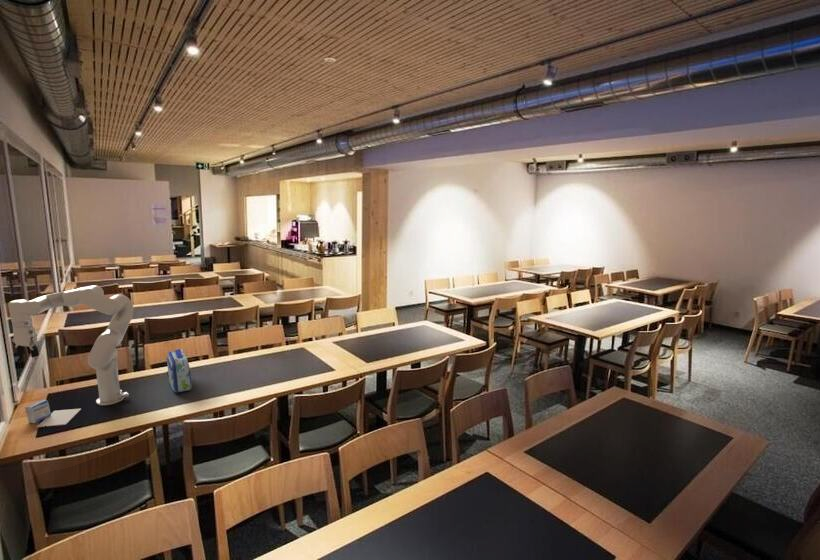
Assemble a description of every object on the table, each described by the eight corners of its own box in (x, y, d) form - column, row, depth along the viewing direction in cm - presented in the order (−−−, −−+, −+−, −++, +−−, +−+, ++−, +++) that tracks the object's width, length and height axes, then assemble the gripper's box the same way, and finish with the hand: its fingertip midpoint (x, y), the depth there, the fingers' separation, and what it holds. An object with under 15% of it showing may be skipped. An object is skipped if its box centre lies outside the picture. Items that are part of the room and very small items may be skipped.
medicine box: (35, 423, 210) (31, 407, 209) (28, 422, 211) (24, 406, 210) (51, 415, 218) (48, 399, 216) (44, 414, 219) (40, 399, 217)
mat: (81, 409, 226) (81, 408, 226) (65, 424, 211) (65, 423, 211) (54, 411, 223) (54, 410, 223) (36, 427, 208) (36, 426, 208)
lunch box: (167, 380, 263) (164, 348, 259) (186, 376, 269) (184, 344, 265) (172, 397, 242) (169, 362, 238) (193, 392, 248) (191, 358, 244)
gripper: (42, 323, 219) (48, 354, 222) (18, 320, 223) (24, 351, 227) (26, 327, 212) (32, 360, 215) (1, 324, 216) (7, 356, 220)
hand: (28, 355), depth 221 cm, fingers open, 9 cm apart
